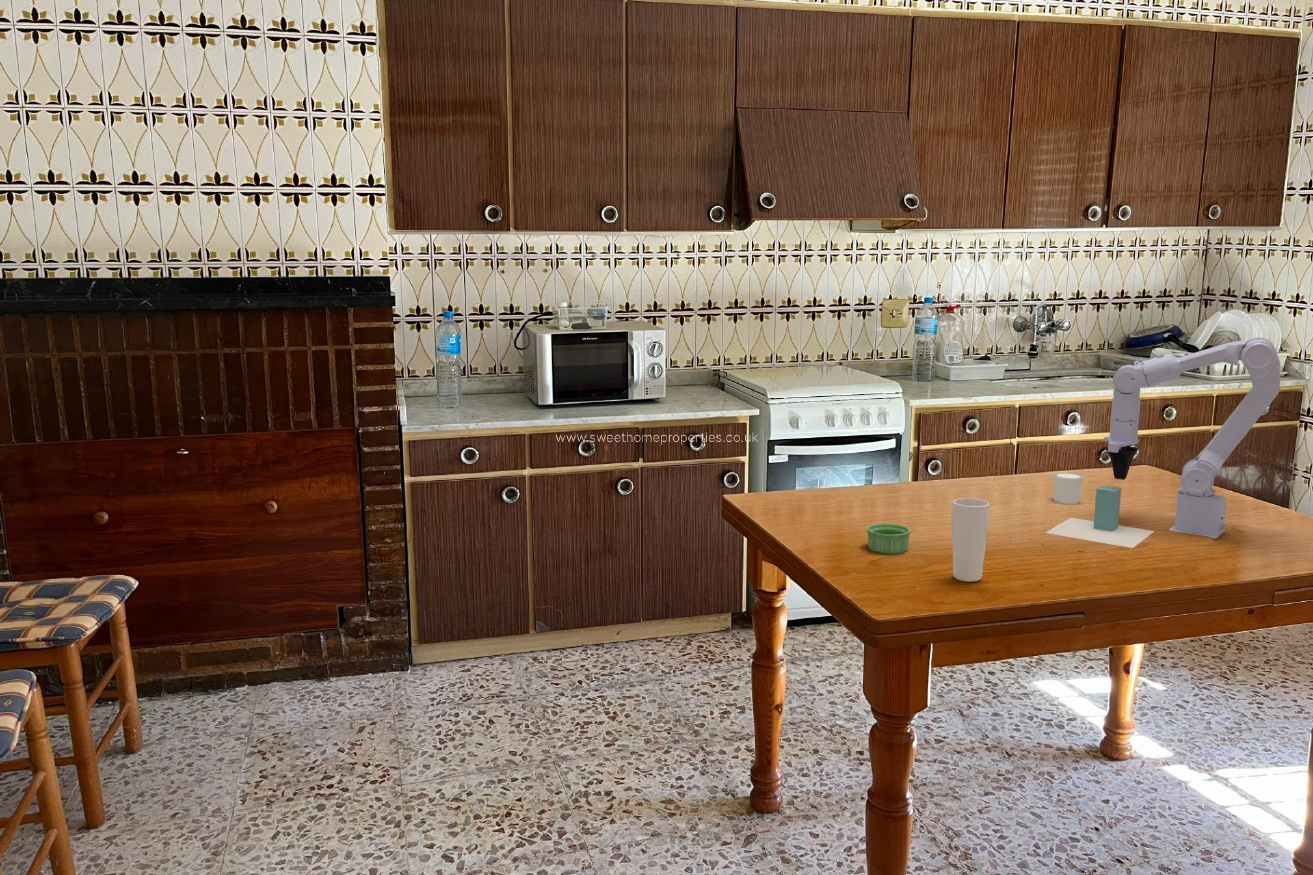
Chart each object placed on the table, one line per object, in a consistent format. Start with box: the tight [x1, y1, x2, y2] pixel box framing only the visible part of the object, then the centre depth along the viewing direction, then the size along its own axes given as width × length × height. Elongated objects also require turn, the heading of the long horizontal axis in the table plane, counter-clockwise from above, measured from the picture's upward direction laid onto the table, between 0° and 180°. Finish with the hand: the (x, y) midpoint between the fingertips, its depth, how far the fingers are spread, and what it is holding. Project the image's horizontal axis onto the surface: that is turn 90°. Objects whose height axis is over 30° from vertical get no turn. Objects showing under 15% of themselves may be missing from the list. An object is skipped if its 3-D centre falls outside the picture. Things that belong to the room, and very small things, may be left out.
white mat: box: [1045, 517, 1155, 549], centre depth 221 cm, size 18×16×1 cm
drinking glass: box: [951, 497, 990, 583], centre depth 192 cm, size 7×7×15 cm
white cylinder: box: [1053, 472, 1085, 505], centre depth 247 cm, size 7×7×7 cm
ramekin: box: [866, 523, 912, 555], centre depth 212 cm, size 9×9×4 cm
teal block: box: [1093, 485, 1122, 532], centre depth 223 cm, size 4×4×9 cm
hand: (1120, 478), depth 228 cm, fingers closed
